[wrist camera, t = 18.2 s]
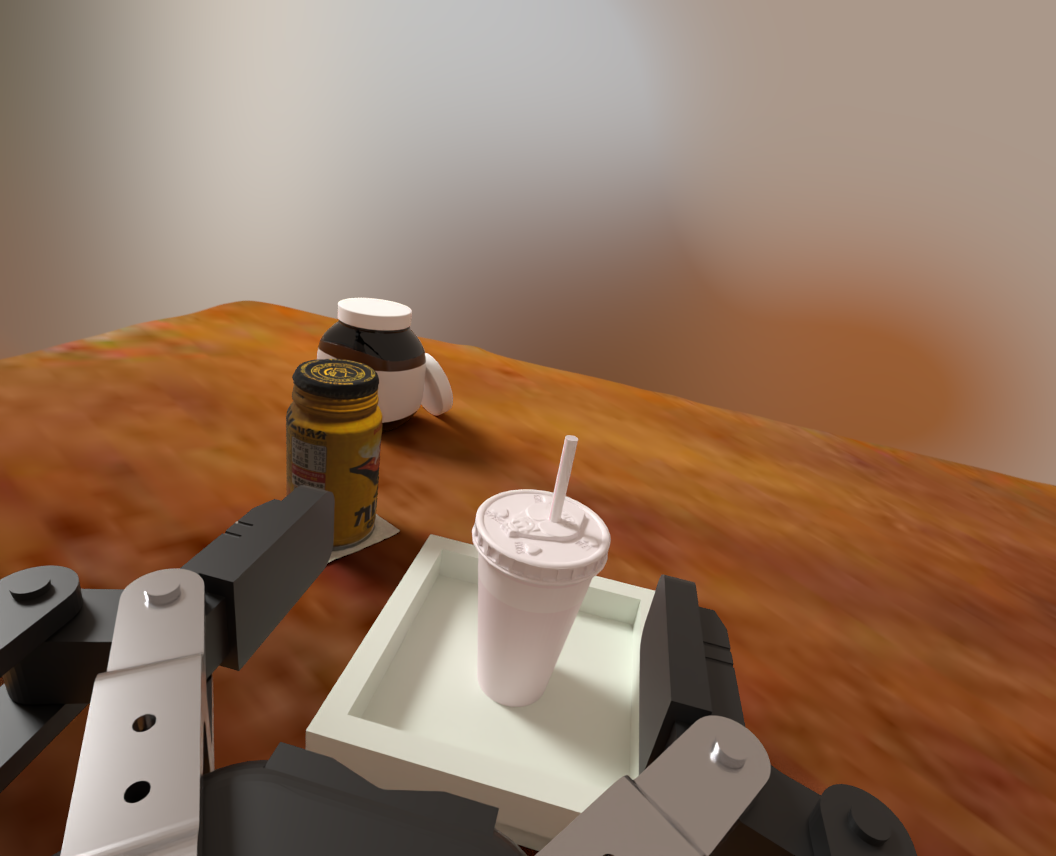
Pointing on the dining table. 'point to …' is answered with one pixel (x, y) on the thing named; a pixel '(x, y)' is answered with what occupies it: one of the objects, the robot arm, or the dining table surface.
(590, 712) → the tray
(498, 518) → the smoothie
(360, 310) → the spread jar
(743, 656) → the dining table surface
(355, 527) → the condiment
